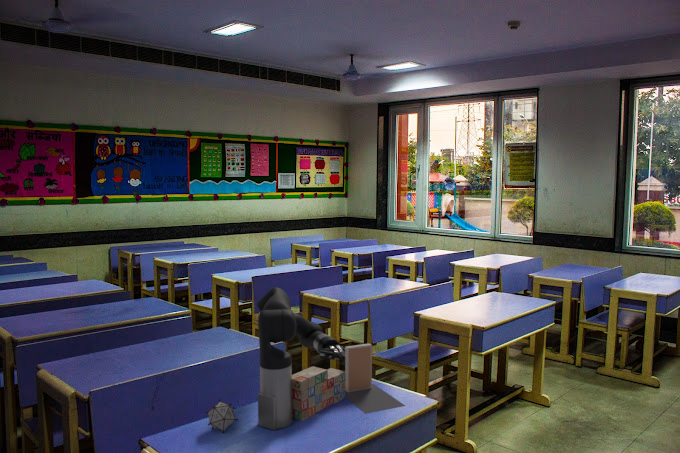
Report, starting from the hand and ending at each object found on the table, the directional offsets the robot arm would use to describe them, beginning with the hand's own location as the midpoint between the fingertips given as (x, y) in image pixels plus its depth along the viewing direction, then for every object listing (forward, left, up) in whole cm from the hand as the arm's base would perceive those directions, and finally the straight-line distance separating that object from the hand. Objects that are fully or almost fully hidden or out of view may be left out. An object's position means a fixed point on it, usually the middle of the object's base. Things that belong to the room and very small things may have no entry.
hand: (345, 358), depth 192 cm
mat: (-10, -15, -8) cm, 20 cm away
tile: (-5, -9, -8) cm, 13 cm away
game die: (-52, +9, -8) cm, 53 cm away
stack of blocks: (-24, -5, -8) cm, 26 cm away
